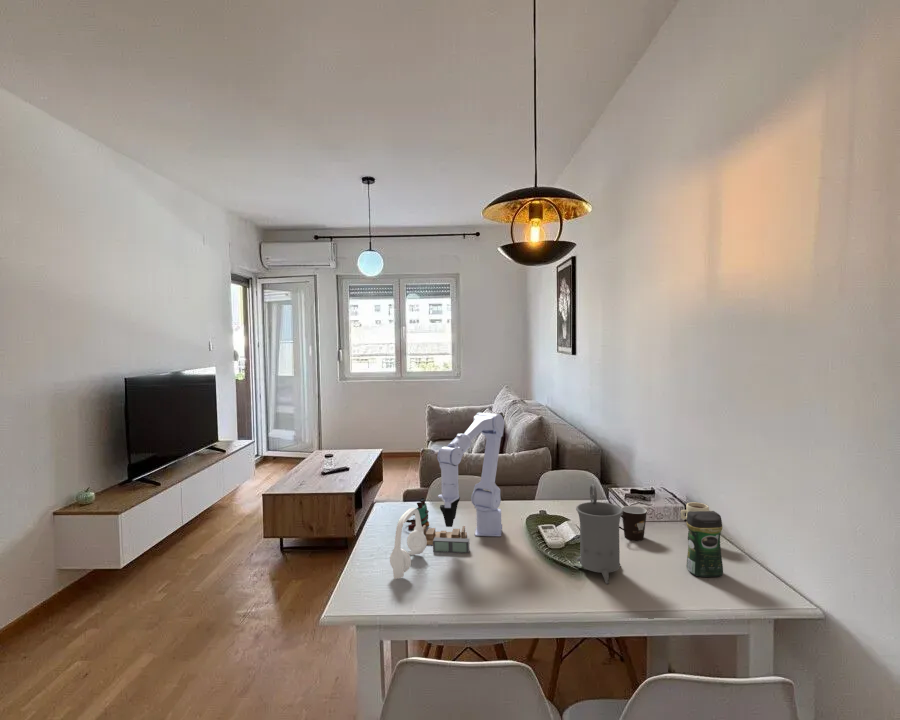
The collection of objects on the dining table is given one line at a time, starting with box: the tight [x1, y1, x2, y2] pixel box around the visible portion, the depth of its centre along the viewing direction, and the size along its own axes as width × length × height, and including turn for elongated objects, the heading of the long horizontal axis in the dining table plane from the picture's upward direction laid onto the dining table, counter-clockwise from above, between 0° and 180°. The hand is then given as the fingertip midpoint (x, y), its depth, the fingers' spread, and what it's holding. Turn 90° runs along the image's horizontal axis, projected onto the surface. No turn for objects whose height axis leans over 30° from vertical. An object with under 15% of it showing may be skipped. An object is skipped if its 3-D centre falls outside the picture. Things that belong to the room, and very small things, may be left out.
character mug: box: [680, 501, 710, 541], centre depth 182 cm, size 11×7×13 cm, turn 81°
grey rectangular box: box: [432, 537, 470, 554], centre depth 179 cm, size 12×3×4 cm, turn 82°
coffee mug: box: [619, 505, 648, 542], centre depth 187 cm, size 12×9×10 cm
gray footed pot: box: [575, 483, 623, 585], centre depth 161 cm, size 19×15×25 cm
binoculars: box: [405, 497, 430, 530], centre depth 202 cm, size 9×11×10 cm
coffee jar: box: [686, 510, 724, 578], centre depth 159 cm, size 10×8×19 cm
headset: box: [389, 507, 427, 580], centre depth 166 cm, size 20×7×18 cm, turn 164°
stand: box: [423, 525, 468, 546], centre depth 189 cm, size 16×10×4 cm, turn 83°
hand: (450, 522), depth 178 cm, fingers open, 7 cm apart
